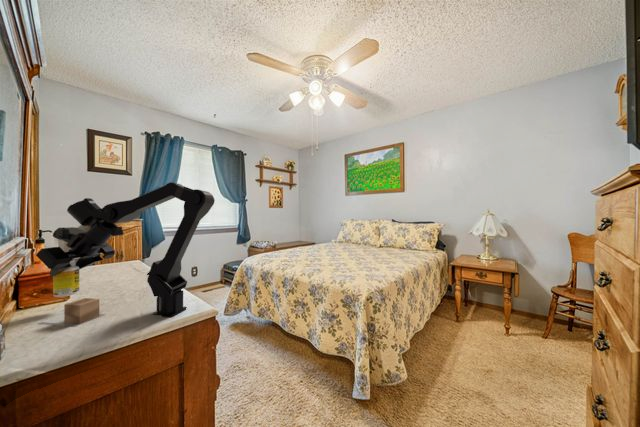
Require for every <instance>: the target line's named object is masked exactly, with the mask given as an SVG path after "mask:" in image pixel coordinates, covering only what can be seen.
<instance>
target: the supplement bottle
mask: <svg viewBox="0 0 640 427" xmlns="http://www.w3.org/2000/svg"><path fill="white" fill-rule="evenodd" d="M76 262H77V261H76V259H73V260H72V261H71V262H70V265H71V266H72V267H70V268H68V269H66V270H64V271H63V272H61V273H59V274H57V275H55V276H53V277H52V290H53V291H52V292H53V293H52V294H53V295H52V296H53V297H54V298H63V297H64V298H65V297H68V296H72V295H76V294H78V293H79V292H80V270H79V267H78V266H75V265H76Z"/></svg>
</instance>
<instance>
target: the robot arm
mask: <svg viewBox="0 0 640 427" xmlns="http://www.w3.org/2000/svg"><path fill="white" fill-rule="evenodd" d="M175 198H176V199H178V200H180V201H182V202H184V203H183V217H182V219H181V221H180V223H179V225H178V228H177V230H176V232H175V233H174V236H173V237H172V240H171V242H170V244H169V246H168V249H167V251H166V253H165V255H164V257H163V258H162V259H161V260H156V261H154V262H152V264H151V267H150V269H149V271H148V272H147V273H146V276H147V280H146V282H147V283H148V286H149V287H150V289H151V292H152V295H153V297H156V312H153V313H152V315H154V316H161V317H170V318H171V317H174V316H176V315H178V314H179V313H182V312H183V311H185V310H186V308H187V306H184V290H183V289H186V288H187V285H188V281H187V280H186V279H185V278H184V277H183V276H182V275H181V272H182V259H183V257H184V256H185V254H186V252H187V249H188V247H189V244H190V243H191V240H192V239H193V236H194V234H195V232H196V230H197V228H198V226H199V224H200V221H201V220H202V219H203V218H204V217H205V216H206V215H207V214H208V213H209V212H210V210H211V209H212V208H213V206H214V204H215V198H214V195H213V194H212V193H211V192H210V191H206V190H201V189H193V188H190V187H187V186H184V185H182V184H180V183H176V182H173V181H171V182H168V183H166V184H165V185H163V186H161V187H159V188H155V189H153V190H152V191H149V192H146V193H144V194H142V195H139V196H137V197H135V198H133V199H129V200H123V201H116V202H112V203H107V204H106V205H104V206H103V207H102V208H101V206H99V205H98V204H97V203H96V202H95V201H94V199H93V198H90V197H89V198H88V197H87V198H84V199H83V200H79V201H77V202H74V203H73V204H70V205H69V206H68V207H67V209H66V212H67V213H68V214H69V215H70V217H72V218H73V219H74V220H76V221H77V222H78V223H79V224H80V226H83V227H89V228H88V229H87V230H86V231H85V230H83V229H80V228H78V227H74V226H73V227H58V228H56V229H55V230H54V232H53V234H52V237H53V238H54V239H56V240H59V241H63V242H65V243H66V244H65V246H66V247H67V248H70V249H68V250H67V251H65V250H63V248H61V246H52V247H44V248H40V249H39V251H38V252H37V253H36V254H35V256H36V257H37V258H38V259H39V260H40V261H41V262H42V263H43V264H44V265H45V266H46V267H47V268H48V269H50V270H49V276H50V277H51V278H53V276H55V275H57V274H59V273H61V272H63V271H64V270H66V269H68V268H70V267H72V266H71V265H70V262H71V261H72V260H76V259H77V261H76V265H75V266H78V267H79V271H80V270H82V269H84V268H87V267H89V266H91V265H94V264H97V263H99V262H101V261H103V260H106V259H112V257H114V256H115V255H116V250H115V249H114V248H113V247H112V246H111V245H110V244H109V243H108V241H109V240H110V239H111V238H112V237H118V236H119V237H120V236H123V235H124V230H123V227H122V226H118V225H117V224H126V223H131V222H132V221H133V220H135V219H137V218H138V217H139V216H140V215H141V214H142V213H144V212H145V211H146V210H150V209H152V208H155V207H156V206H159V205H161V204H163V203H166V202H168V201H171V200H174V199H175ZM184 309H185V310H184ZM187 309H188V308H187ZM181 311H182V312H181Z"/></svg>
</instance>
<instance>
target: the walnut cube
mask: <svg viewBox="0 0 640 427" xmlns="http://www.w3.org/2000/svg"><path fill="white" fill-rule="evenodd" d="M63 314H64V323H73V324H81V323H83V324H85V323H84V322H86V321H88V322H90V321H89V320H91V319H93V320H95V319H94V318H96V317H99V314H100V298H90V297H89V298H88V297H87V298H86V297H84V298H81V299H77V300H75V301H71V302H68V303H65V304H64V313H63ZM99 318H100V317H99ZM96 319H97V318H96ZM91 321H92V320H91ZM86 323H87V322H86ZM81 325H82V324H81Z"/></svg>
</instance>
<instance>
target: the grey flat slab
mask: <svg viewBox="0 0 640 427" xmlns="http://www.w3.org/2000/svg"><path fill="white" fill-rule="evenodd" d="M106 315H107V314H105V313H99V317H96V318H94V319H91V320H89V321H86V322H84V323H81V324H73V323H64V313H63V314H61V315H58V316H55V317H52V318H49V319H46V320H43V321H40V322H38V323H37V324H38V325H45V326H46V325H49V326H60V327H71V328H72V327H73V328H75V327H78V326H80V325H83V324H85V323H89V322H91V321H93V320H96V319H99V318H101V317H103V316H106Z"/></svg>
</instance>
